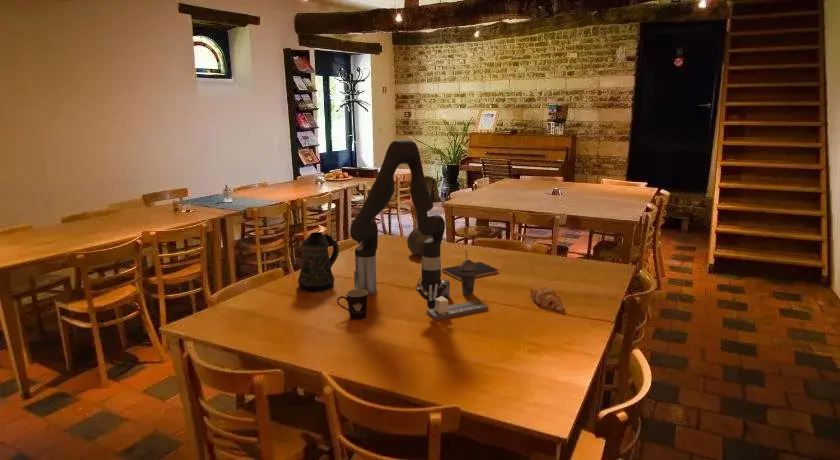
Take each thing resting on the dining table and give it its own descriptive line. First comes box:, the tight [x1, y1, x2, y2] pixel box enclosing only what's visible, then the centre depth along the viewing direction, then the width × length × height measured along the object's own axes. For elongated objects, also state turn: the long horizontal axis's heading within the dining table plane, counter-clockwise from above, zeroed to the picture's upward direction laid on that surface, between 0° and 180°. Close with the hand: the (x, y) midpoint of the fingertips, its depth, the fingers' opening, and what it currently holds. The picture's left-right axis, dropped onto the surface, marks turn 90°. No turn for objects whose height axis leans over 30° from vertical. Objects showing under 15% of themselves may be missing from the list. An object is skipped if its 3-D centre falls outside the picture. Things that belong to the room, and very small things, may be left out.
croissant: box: [530, 287, 564, 312], centre depth 222 cm, size 21×10×8 cm, turn 24°
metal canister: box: [441, 279, 451, 300], centre depth 229 cm, size 5×5×7 cm
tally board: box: [426, 299, 489, 321], centre depth 214 cm, size 24×8×2 cm, turn 116°
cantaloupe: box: [406, 228, 430, 256], centre depth 291 cm, size 14×14×15 cm
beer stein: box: [297, 231, 340, 293], centre depth 242 cm, size 16×19×25 cm
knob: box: [433, 296, 449, 314], centre depth 210 cm, size 4×5×5 cm
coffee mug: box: [336, 288, 369, 321], centre depth 208 cm, size 12×9×10 cm
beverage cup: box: [460, 250, 477, 297], centre depth 231 cm, size 7×7×20 cm
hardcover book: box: [441, 261, 499, 281], centre depth 263 cm, size 16×23×2 cm
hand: (431, 308), depth 208 cm, fingers closed
